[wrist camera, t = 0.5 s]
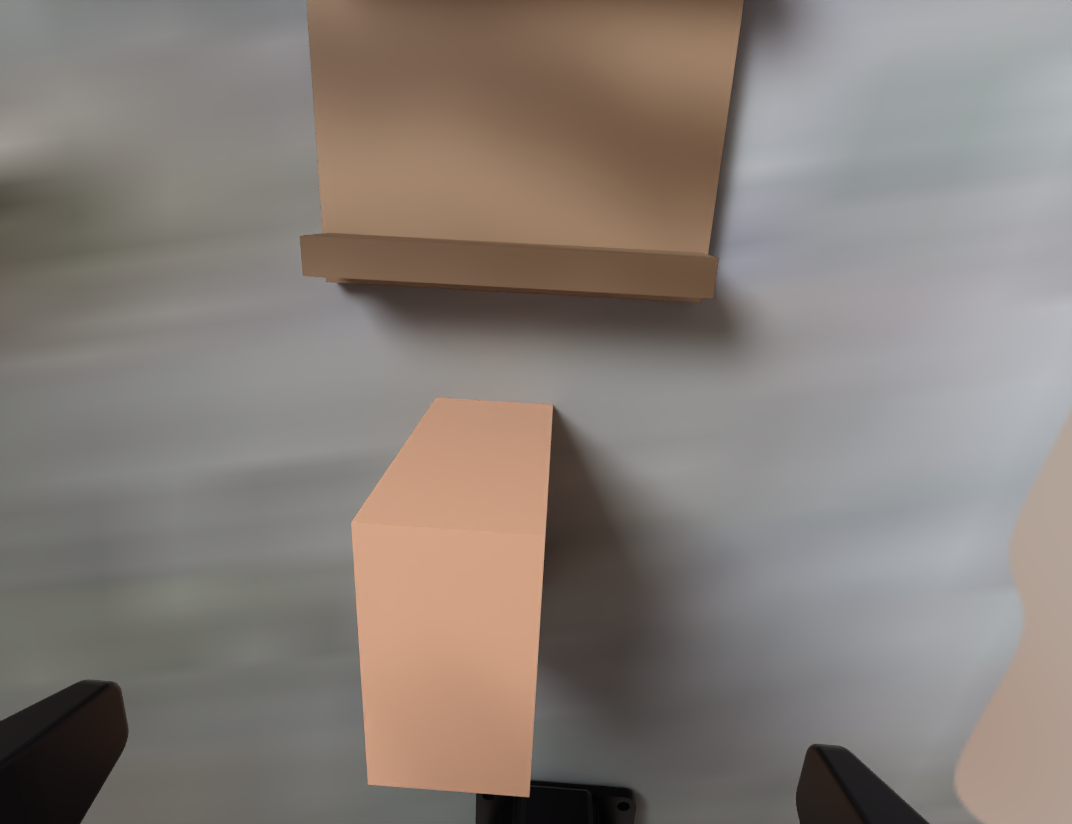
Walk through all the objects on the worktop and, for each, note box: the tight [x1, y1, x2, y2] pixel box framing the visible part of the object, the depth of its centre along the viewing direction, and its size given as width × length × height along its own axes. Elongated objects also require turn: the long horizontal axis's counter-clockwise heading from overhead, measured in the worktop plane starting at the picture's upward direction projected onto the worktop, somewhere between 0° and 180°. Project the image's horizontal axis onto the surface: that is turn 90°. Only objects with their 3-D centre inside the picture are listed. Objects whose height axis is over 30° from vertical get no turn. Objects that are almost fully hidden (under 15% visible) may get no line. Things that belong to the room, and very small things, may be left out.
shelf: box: [300, 0, 744, 303], centre depth 15 cm, size 10×11×3 cm
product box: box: [351, 398, 553, 797], centre depth 16 cm, size 7×4×8 cm, turn 177°
